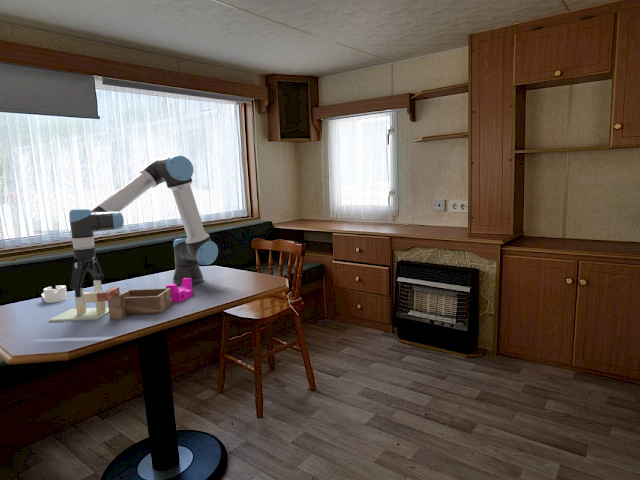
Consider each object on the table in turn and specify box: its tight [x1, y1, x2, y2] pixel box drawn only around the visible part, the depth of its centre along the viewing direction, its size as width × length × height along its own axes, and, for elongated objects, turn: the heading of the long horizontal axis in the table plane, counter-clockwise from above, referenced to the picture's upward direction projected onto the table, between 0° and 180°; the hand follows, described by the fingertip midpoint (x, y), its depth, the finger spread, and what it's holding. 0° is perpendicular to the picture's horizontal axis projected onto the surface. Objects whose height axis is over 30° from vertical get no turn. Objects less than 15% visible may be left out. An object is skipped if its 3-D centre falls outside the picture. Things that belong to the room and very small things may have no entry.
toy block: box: [165, 278, 194, 303], centre depth 192 cm, size 15×6×8 cm, turn 167°
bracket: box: [40, 284, 68, 304], centre depth 198 cm, size 20×9×7 cm, turn 39°
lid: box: [48, 290, 109, 323], centre depth 171 cm, size 15×19×9 cm
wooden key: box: [97, 286, 120, 302], centre depth 158 cm, size 11×3×3 cm, turn 0°
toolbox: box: [107, 287, 173, 321], centre depth 172 cm, size 20×18×9 cm
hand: (90, 300), depth 170 cm, fingers open, 13 cm apart
